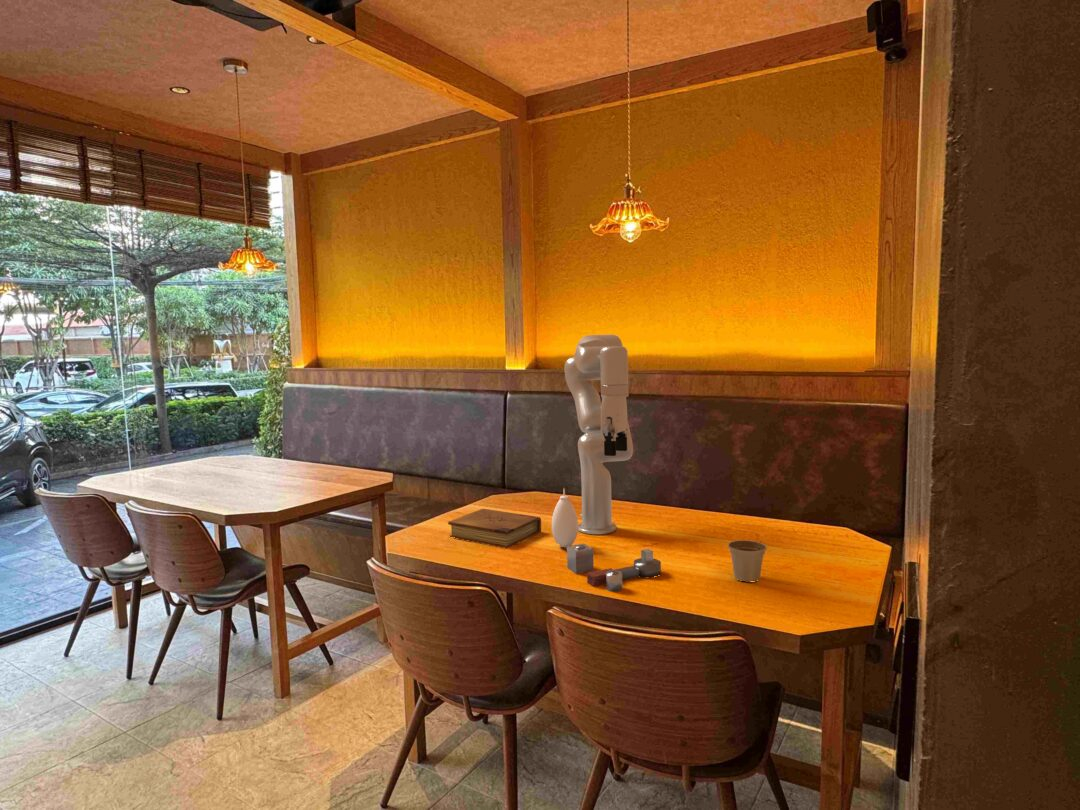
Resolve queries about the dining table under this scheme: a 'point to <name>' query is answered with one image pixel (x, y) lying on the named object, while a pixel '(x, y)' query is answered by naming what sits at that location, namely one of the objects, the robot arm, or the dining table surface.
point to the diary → (495, 527)
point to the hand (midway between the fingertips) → (616, 453)
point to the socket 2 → (614, 581)
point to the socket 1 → (580, 558)
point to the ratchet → (630, 569)
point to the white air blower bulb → (564, 522)
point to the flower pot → (747, 559)
